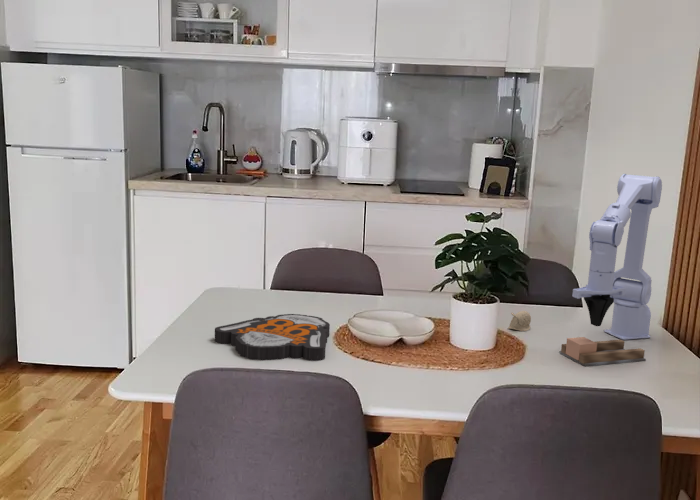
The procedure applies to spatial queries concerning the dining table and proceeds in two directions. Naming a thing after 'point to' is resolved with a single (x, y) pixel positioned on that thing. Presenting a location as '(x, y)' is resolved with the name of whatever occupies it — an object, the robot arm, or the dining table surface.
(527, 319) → the decorative ornament
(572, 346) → the block
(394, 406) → the dining table surface
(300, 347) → the decorative emblem
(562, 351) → the walnut chute
